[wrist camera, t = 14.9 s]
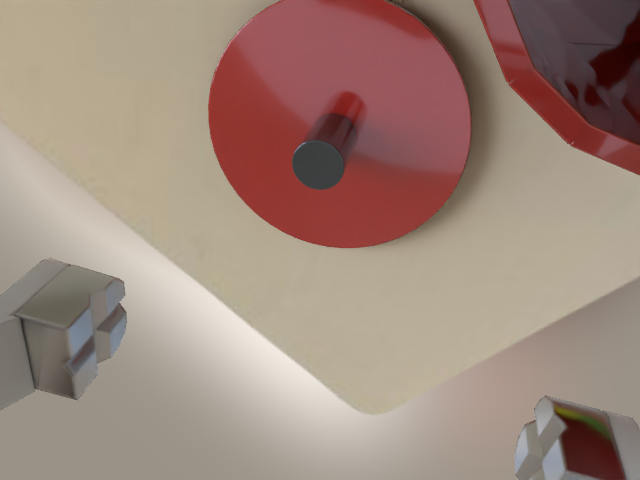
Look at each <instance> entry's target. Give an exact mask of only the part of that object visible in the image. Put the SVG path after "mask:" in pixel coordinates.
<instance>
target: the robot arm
mask: <svg viewBox="0 0 640 480" xmlns="http://www.w3.org/2000/svg"><path fill="white" fill-rule="evenodd" d="M124 296H125V288H124V282H123V281H122V280H120V279H119V278H116V277H113V276H109V275H106V274H102V273H99V272H96V271H93V270H89V269H86V268H83V267H79V266H76V265H70V264H67V263H64V262H61V261H58V260H54V259H51V258H49V259H45V260H42V261H41V262H40V263H38V264H37V265H36V266H35V267H33V268H32V269H31V270H30V271H29V272H28V273H26V274H25V275H24V276H23V277H22V278H20V279H19V280H18V281H17V282H16V283H15V284H13V285H12V286H11V287H10V288H8V289H7V290H6V291H5V292H4V293H2V294H1V295H0V410H2V409H4V408H6V407H8V406H10V405H11V404H13V403H15V402H17V401H18V400H20V399H22V398H24V397H26V396H28V395H29V394H31V393H33V392H35V389H38V390H41V391H45V392H49V393H52V394H56V395H60V396H64V397H67V398H72V399H75V400H78V399H79V398H80V397H81V395H82V394H83V393H84V392H85V390H86V389H87V387H88V386H89V385H90V384H91V383H92V381H93V380H94V379H95V377H96V376H97V375H98V369H97V363H100V362H102V361H104V360H106V359H108V358H111V357H112V355H113V354H114V353H115V351H116V350H117V348H118V347H119V345H120V343H121V341H122V338H123V336H124V334H125V329H126V323H127V317H126V311H125V310H124V308H123V307H122V306H121V304H120V303H119V302H120V301H121V300H122V298H123V297H124ZM534 410H535V417H536V420H534V421H532V422H529V423H527V424H525V426H524V427H523V429H522V431H521V433H520V435H519V437H518V441H517V446H516V450H515V471H516V476H517V477H518V479H519V480H640V429H639V427H638V424H637V423H636V422H635V421H634V419H633V418H630V417H626V416H623V415H619V414H615V413H611V412H607V411H601V410H599V409H595V408H591V407H587V406H584V405H580V404H576V403H572V402H569V401H565V400H561V399H557V398H553V397H550V396H546V395H545V396H544V397H543V398H541V399H540V400H539V402H538V404H537V405H536V407H535V408H534Z"/></svg>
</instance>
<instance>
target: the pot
mask: <svg viewBox="0 0 640 480" xmlns="http://www.w3.org/2000/svg"><path fill="white" fill-rule="evenodd" d="M473 1H474V3H475V6H476V8H477V10H478V13H479V15H480V18H481V20H482V23H483V25H484V28H485V30H486V32H487V35H488V37H489V40H490V42H491V45H492V47H493V50H494V52H495V54H496V57H497V59H498V62H499V64H500V67H501V69H502V72H503V74H504V77H505V79H506V81H507V82H508V83H509V86H510V87H511V88H512V89H513V90H514V91H515V92H516V93H517V94H518V95H519V96H520V97H521V98H522V99H523V100H524V101H525V102H526V103H527V104H528V105H529V106H530V107H531V108H532V109H533V110H534V111H535V112H536V113H537V114H538V115H539V116H540V117H541V118H542V119H543V120H544V121H545V122H546V123H547V124H548V125H549V126H550V127H551V128H552V129H553V130H554V131H555V132H556V133H557V134H558V135H559V136H560V137H561V138H562V139H563V140H564V141H565V142H566V143H567V144H570V146H572V147H574V148H576V149H579V150H581V151H583V152H586V153H588V154H590V155H593V156H595V157H597V158H600V159H602V160H604V161H607V162H609V163H611V164H614V165H616V166H618V167H621V168H623V169H625V170H628V171H630V172H633V173H635V174H637V175H640V0H473Z"/></svg>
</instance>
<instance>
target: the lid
mask: <svg viewBox="0 0 640 480" xmlns="http://www.w3.org/2000/svg"><path fill="white" fill-rule="evenodd" d="M208 110H209V127H210V134H211V140H212V143H213V147H214V151H215V154H216V156H217V159H218V161H219V164H220V166H221V168H222V170H223V172H224V174H225V176H226V178H227V179H228V181H229V183H230V184H231V186H232V187H233V188H234V190H235V191H236V193H237V194H238V195H239V196H240V197H241V199H242V200H243V201H244V202H245V203H246V204H247V205H248V206H249V207H250V208H251V209H252V210H253V211H254V212H255V213H256V214H257V215H258V216H260V217H261V218H262V219H264V220H265V221H267V222H268V223H269V224H271V225H272V226H274V227H276V228H277V229H279V230H281V231H282V232H284V233H286V234H289V235H291V236H293V237H295V238H298V239H300V240H303V241H306V242H310V243H313V244H317V245H322V246H327V247H337V248H360V247H367V246H374V245H378V244H382V243H386V242H389V241H391V240H394V239H397V238H399V237H402V236H404V235H405V234H407V233H409V232H411V231H413V230H415V229H416V228H418V227H419V226H420V225H422V224H423V223H425V222H426V221H427V220H429V219H430V218H431V217H432V216H433V215H434V214H435V213H436V212H437V211H438V210H439V209H440V208H441V207H442V206H443V205H444V203H445V202H446V201H447V200H448V198H449V197H450V196H451V194H452V192H453V191H454V189H455V187H456V186H457V184H458V182H459V180H460V178H461V176H462V173H463V171H464V169H465V166H466V162H467V158H468V155H469V151H470V143H471V135H472V121H471V108H470V102H469V96H468V92H467V89H466V86H465V82H464V79H463V76H462V74H461V72H460V70H459V68H458V66H457V64H456V61H455V60H454V58H453V57H452V55H451V53H450V52H449V50H448V49H447V47H446V46H445V44H444V43H443V42H442V41H441V40H440V38H439V37H438V36H437V35H436V34H435V33H434V32H433V31H432V29H431V28H429V27H428V26H427V25H426V24H425V23H424V22H422V21H421V20H420V19H419V18H418V17H417V16H415V15H414V14H412V13H410V12H409V11H407V10H406V9H404V8H403V7H401V6H399V5H397V4H395V3H393V2H391V1H388V0H281V1H279V2H277V3H275V4H273V5H271V6H269V7H267V8H266V9H264V10H263V11H261V12H260V13H258V14H257V15H255V16H254V17H253V18H252V19H250V20H249V21H248V22H247V23H246V24H245V25H244V26H243V27H242V28H241V29H240V30H239V31H238V32H237V34H236V35H235V36H234V37H233V39H232V40H231V41H230V42H229V44H228V46H227V47H226V49H225V51H224V53H223V54H222V56H221V58H220V60H219V63H218V65H217V68H216V70H215V73H214V76H213V80H212V84H211V88H210V96H209V104H208Z"/></svg>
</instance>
